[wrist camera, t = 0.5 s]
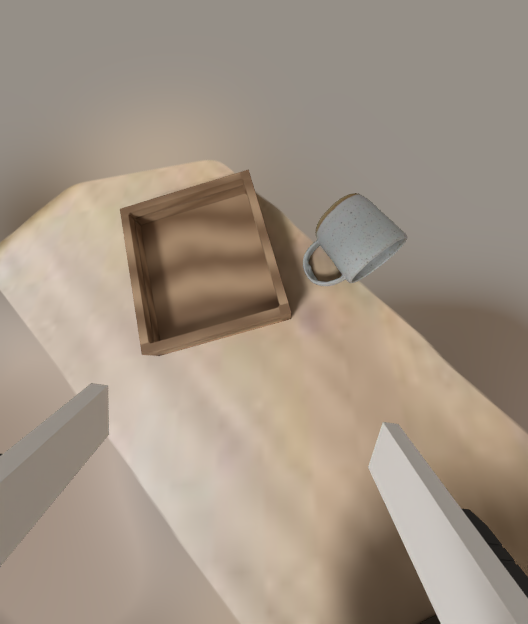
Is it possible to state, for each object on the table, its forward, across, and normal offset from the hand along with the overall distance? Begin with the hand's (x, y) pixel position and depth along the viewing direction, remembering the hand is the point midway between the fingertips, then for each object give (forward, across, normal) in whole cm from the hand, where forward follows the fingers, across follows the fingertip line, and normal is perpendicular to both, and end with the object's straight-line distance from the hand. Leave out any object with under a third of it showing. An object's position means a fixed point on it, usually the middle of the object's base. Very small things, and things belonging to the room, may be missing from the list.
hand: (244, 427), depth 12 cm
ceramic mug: (+24, -10, -8) cm, 27 cm away
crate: (+25, +8, -4) cm, 26 cm away
